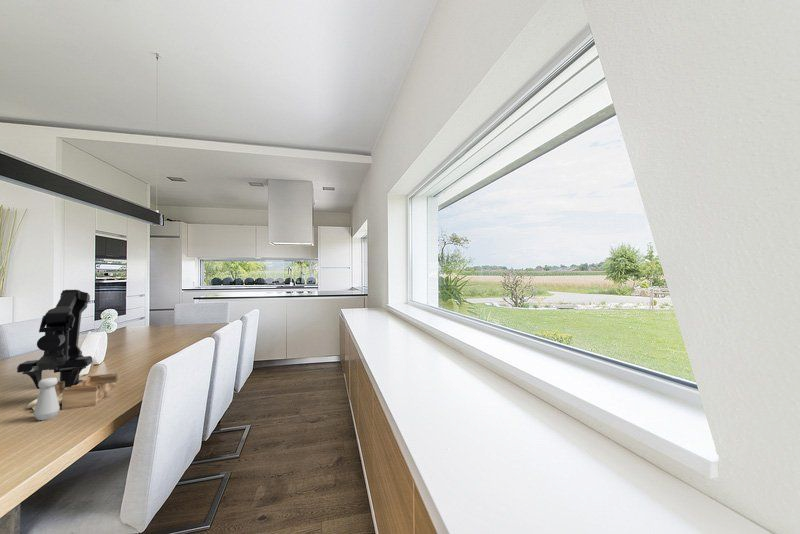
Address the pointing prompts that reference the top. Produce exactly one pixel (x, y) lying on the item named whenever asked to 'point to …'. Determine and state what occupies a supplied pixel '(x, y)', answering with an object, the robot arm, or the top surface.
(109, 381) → the block
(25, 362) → the robot arm
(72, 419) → the top surface
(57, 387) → the lid
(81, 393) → the toolbox
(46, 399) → the salt shaker
